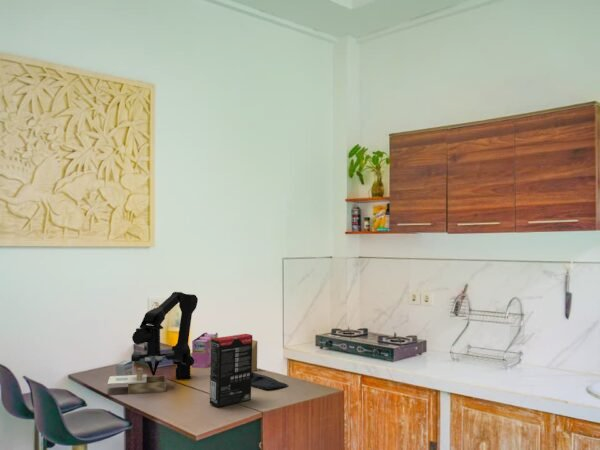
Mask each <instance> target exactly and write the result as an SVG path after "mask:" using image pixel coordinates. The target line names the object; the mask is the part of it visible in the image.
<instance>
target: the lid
mask: <svg viewBox="0 0 600 450" xmlns="http://www.w3.org/2000/svg"><path fill="white" fill-rule="evenodd" d="M147 376H148V374H143V367H139V368H137V369H136V374H133V375H127V376H116V375H110V376H109V378H108V381H107V386H114V385H118V386H119V385H128V384H136V383H146V381H147Z"/></svg>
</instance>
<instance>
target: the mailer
mask: <svg viewBox="0 0 600 450" xmlns="http://www.w3.org/2000/svg"><path fill="white" fill-rule="evenodd" d="M151 392H152V393H164V392H165V393H166V392H167V375H155V376H153V375H150V376H149V375H147V381H146V383H136V384H127V394H128V395H131V394H134V395H136V394H151Z"/></svg>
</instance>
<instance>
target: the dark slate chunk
mask: <svg viewBox="0 0 600 450" xmlns="http://www.w3.org/2000/svg"><path fill="white" fill-rule="evenodd" d="M287 385H288V384H287V383H285V382H281V381H279V380H277V379H275V378H273V377H270V376H268V375H265V374H261V373H256V372H254V371H253V372H252V373H251V387H253V386H254V388H257V387H259V388H258V389H260V388H263V389H262V390H264V389H265V390H266V389H269V390H274V389H273V388H276V389H282V388H281V387H284V388H286V387H285V386H287ZM287 387H288V386H287Z"/></svg>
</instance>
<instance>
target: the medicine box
mask: <svg viewBox="0 0 600 450" xmlns="http://www.w3.org/2000/svg"><path fill="white" fill-rule="evenodd" d="M133 368H134V367H133V362H132V361H131V360H128V359H127V360H123V361H120V362H117V363H116V364H115V376H127V375H134V374H133V372H134V371H133Z"/></svg>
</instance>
